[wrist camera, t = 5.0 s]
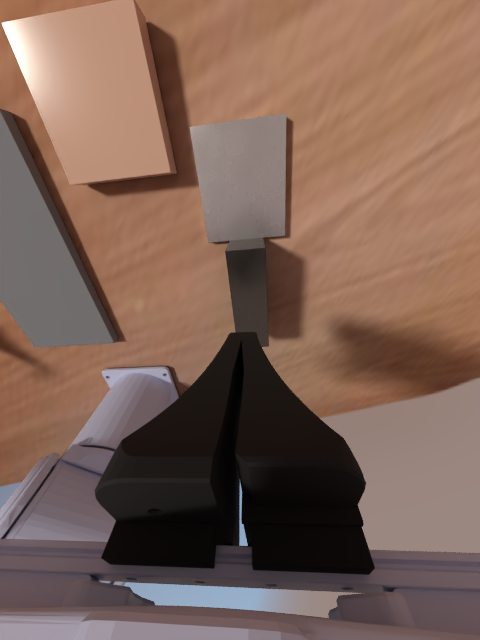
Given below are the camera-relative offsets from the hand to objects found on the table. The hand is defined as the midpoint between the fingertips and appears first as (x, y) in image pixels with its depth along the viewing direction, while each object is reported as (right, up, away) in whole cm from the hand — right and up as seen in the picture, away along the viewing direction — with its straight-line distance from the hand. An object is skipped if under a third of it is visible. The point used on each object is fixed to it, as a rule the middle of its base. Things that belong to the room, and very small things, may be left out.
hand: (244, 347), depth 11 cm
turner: (0, +7, +7) cm, 10 cm away
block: (-8, +11, +4) cm, 14 cm away
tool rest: (-19, +7, +8) cm, 21 cm away
